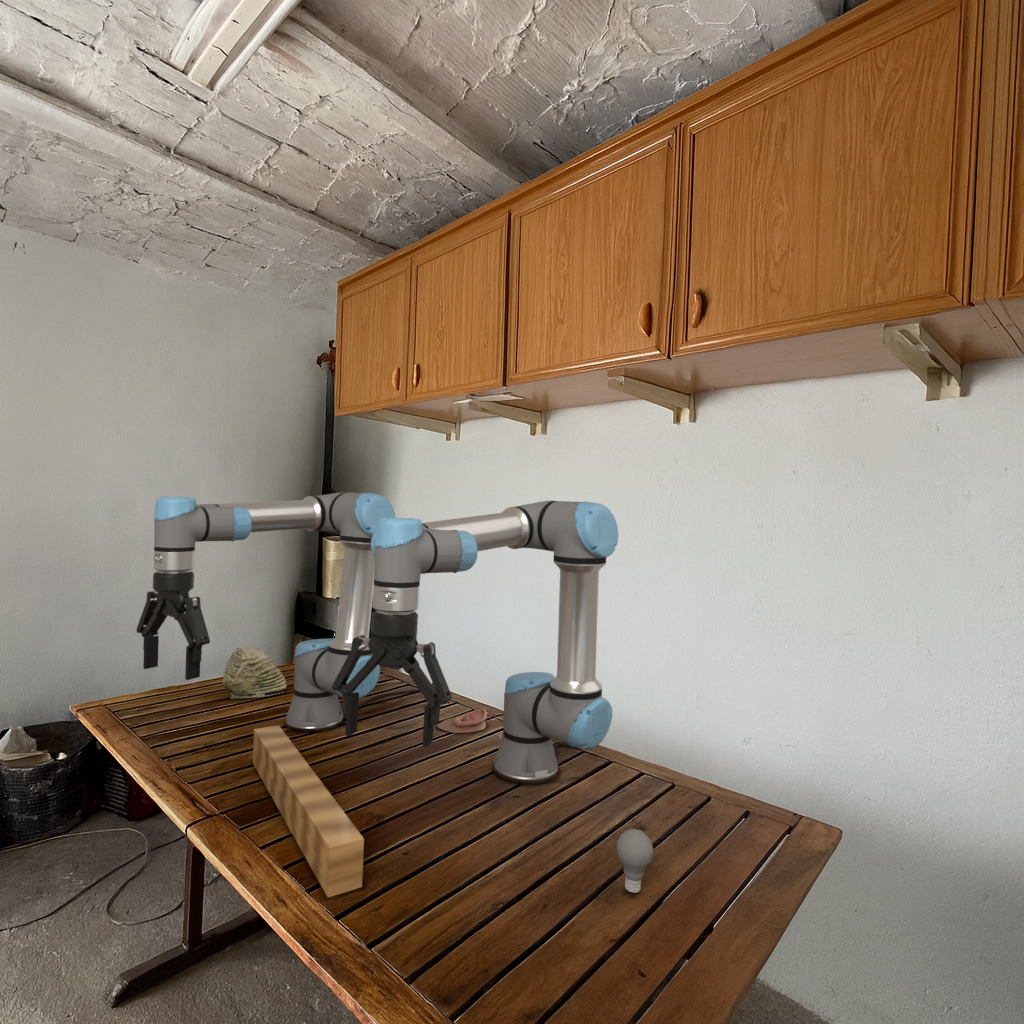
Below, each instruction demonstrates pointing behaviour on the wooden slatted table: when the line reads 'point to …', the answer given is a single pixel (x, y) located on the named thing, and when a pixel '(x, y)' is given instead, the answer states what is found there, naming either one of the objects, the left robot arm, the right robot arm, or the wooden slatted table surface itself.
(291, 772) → the post
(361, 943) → the wooden slatted table surface
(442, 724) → the anatomical model
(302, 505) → the left robot arm
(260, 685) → the fossil
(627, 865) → the light bulb
